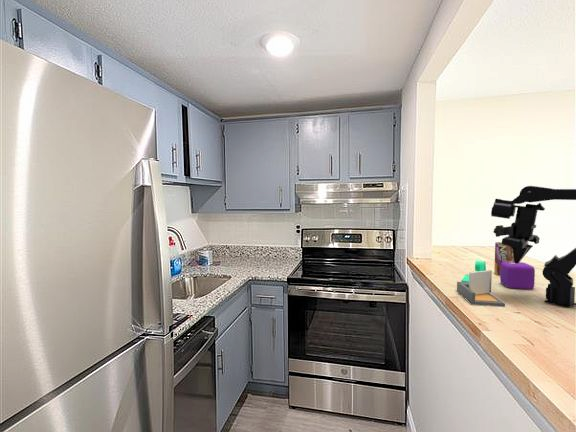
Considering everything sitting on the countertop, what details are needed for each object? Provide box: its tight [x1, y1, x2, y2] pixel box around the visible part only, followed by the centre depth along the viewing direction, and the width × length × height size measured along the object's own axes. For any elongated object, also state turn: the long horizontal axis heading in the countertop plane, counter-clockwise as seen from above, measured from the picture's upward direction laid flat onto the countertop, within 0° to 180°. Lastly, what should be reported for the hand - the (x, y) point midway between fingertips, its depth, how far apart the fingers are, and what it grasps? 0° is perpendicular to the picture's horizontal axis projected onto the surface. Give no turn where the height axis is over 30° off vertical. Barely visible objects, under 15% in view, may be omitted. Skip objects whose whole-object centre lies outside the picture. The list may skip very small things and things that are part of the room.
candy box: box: [493, 241, 514, 276], centre depth 144 cm, size 9×4×15 cm, turn 13°
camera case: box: [456, 281, 506, 307], centre depth 112 cm, size 10×17×4 cm, turn 168°
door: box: [468, 269, 493, 295], centre depth 112 cm, size 1×10×8 cm, turn 109°
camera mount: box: [460, 260, 487, 282], centre depth 129 cm, size 12×8×10 cm, turn 143°
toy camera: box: [499, 261, 536, 290], centre depth 128 cm, size 11×14×10 cm
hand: (516, 263), depth 113 cm, fingers closed
